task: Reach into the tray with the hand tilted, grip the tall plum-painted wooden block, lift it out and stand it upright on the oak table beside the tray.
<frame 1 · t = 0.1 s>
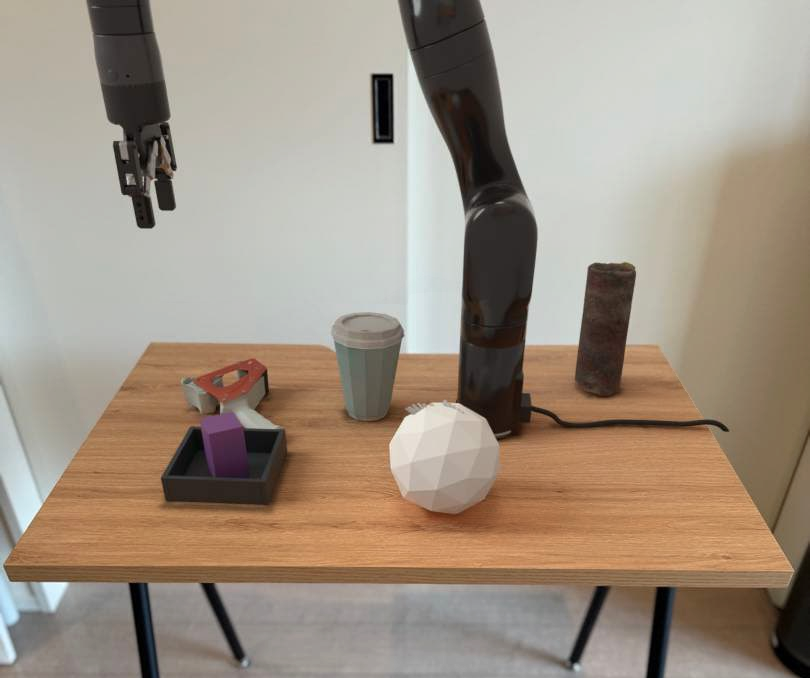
hand: (157, 218, 105), 29 cm above the table, tool pointing down, fingers open, 8 cm apart
tape dispenser: (238, 418, 123), on the table
geodesic sphere: (442, 503, 104), on the table
disposable coffee cup: (369, 413, 124), on the table
plum block: (229, 474, 108), point 1 cm above the table, touching tray
tray: (230, 479, 108), on the table
candle: (595, 388, 131), on the table
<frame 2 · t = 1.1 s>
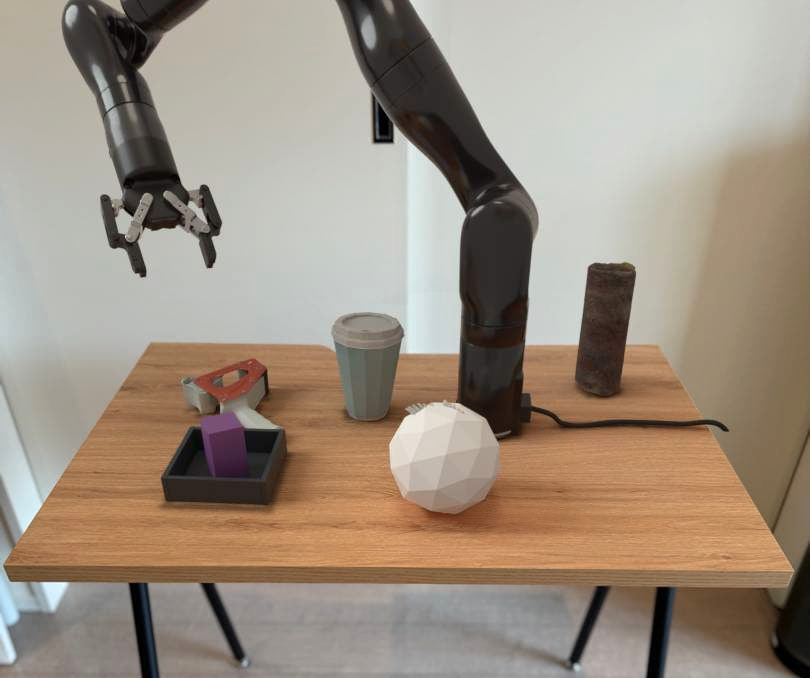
hand: (177, 270, 102), 25 cm above the table, tool tilted 45°, fingers open, 8 cm apart
nothing on the table moved.
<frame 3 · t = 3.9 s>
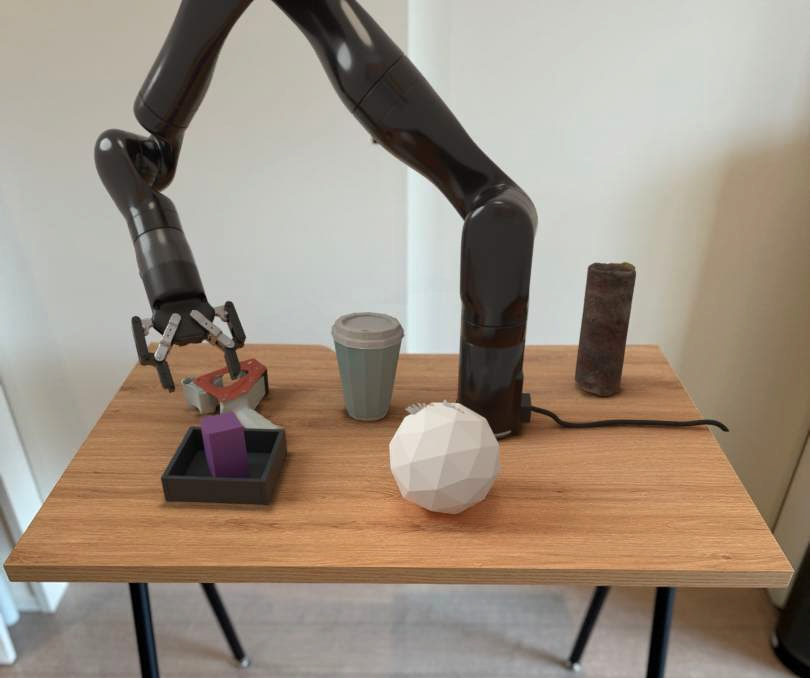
hand: (204, 384, 107), 11 cm above the table, tool tilted 45°, fingers open, 8 cm apart
nothing on the table moved.
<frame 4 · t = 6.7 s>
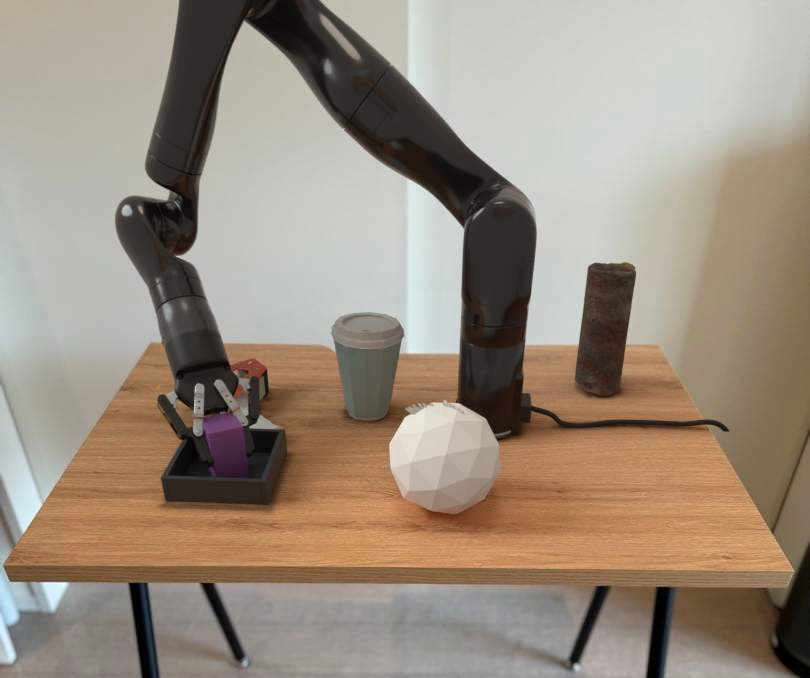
hand: (230, 460, 105), 4 cm above the table, tool tilted 45°, fingers closed on plum block, 4 cm apart
plum block: (229, 474, 108), point 1 cm above the table, touching tray, gripper
everything else where it was.
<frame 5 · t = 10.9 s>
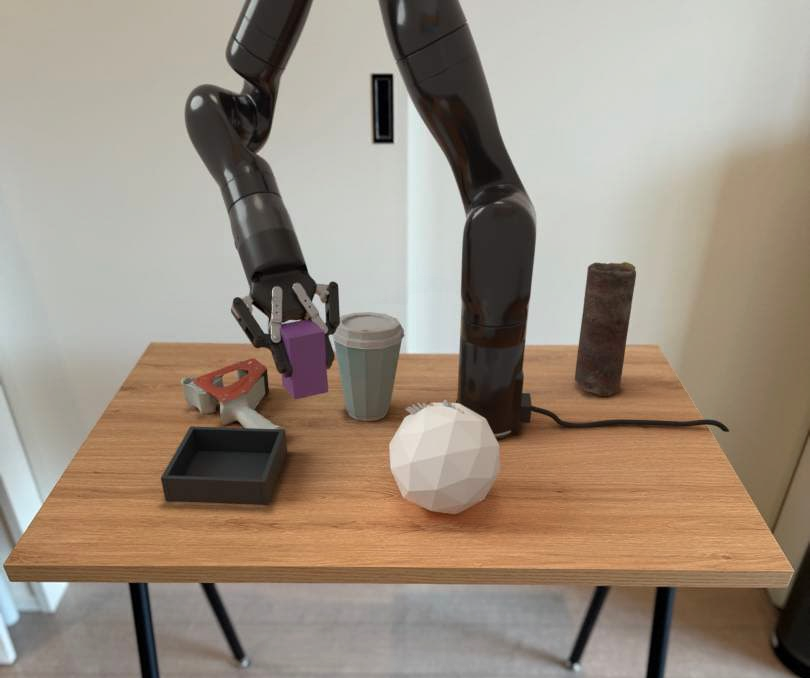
hand: (308, 370, 97), 17 cm above the table, tool tilted 45°, fingers closed on plum block, 4 cm apart
plum block: (305, 388, 101), point 13 cm above the table, touching gripper
everything else where it was.
when the fingers open (3 cm above the table, at t = 15.1 s): plum block stays where it is, on the table.
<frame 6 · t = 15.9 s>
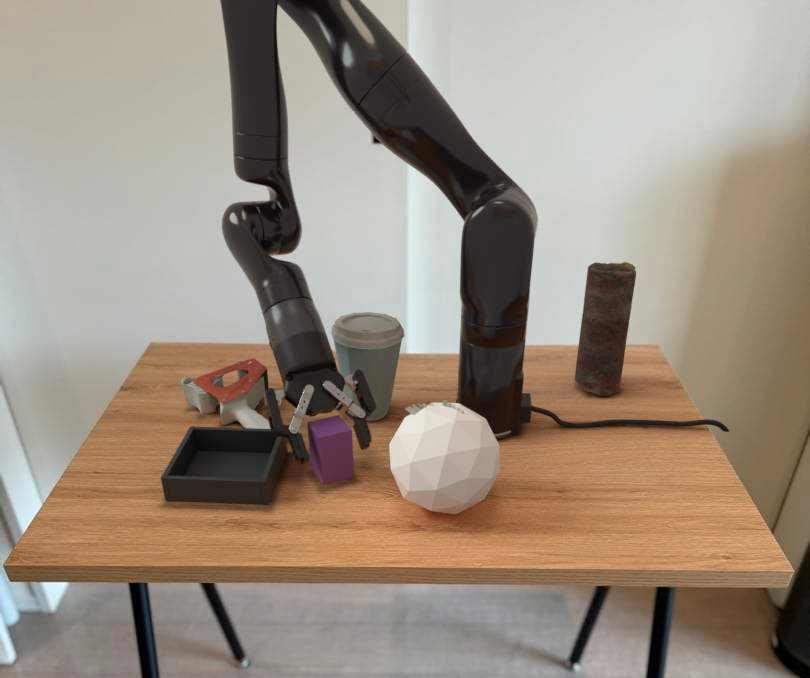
hand: (336, 455, 105), 4 cm above the table, tool tilted 45°, fingers open, 8 cm apart
plum block: (332, 477, 109), on the table
everything else where it was.
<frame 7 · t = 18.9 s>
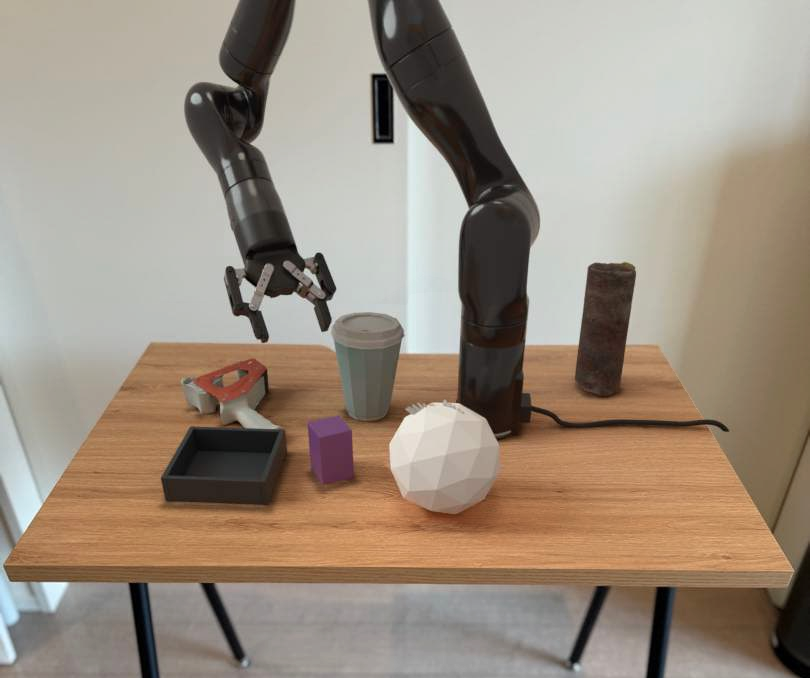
hand: (296, 334, 107), 16 cm above the table, tool tilted 45°, fingers open, 8 cm apart
nothing on the table moved.
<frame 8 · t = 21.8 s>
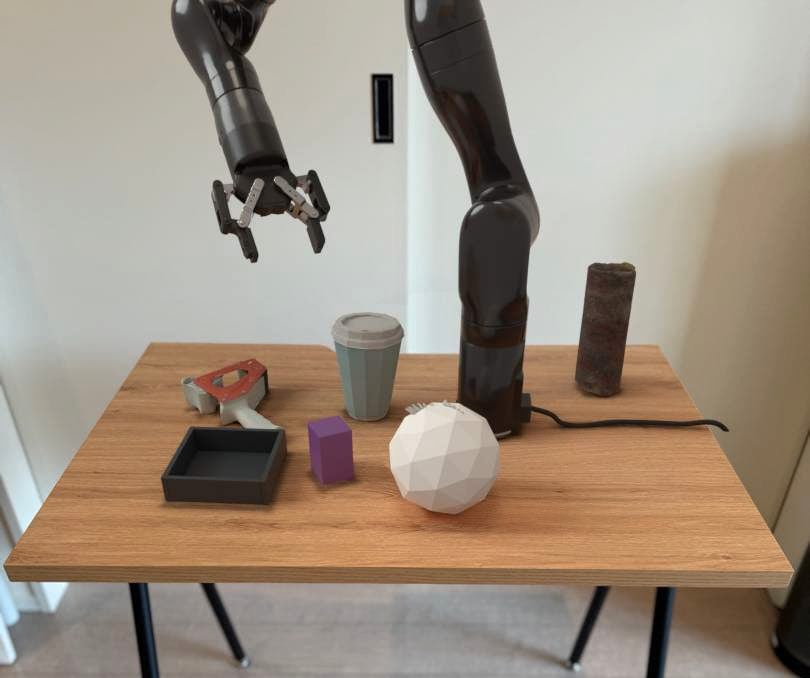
hand: (287, 255, 101), 27 cm above the table, tool tilted 45°, fingers open, 8 cm apart
nothing on the table moved.
at the end: plum block inside the target area (0.1 cm from its centre), on the table; plum block tilted 0°; the gripper is holding nothing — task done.
